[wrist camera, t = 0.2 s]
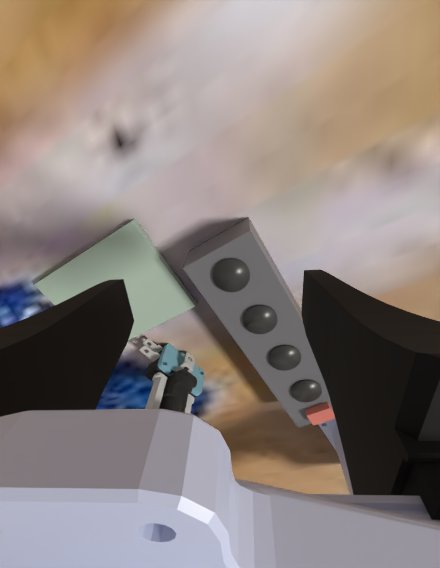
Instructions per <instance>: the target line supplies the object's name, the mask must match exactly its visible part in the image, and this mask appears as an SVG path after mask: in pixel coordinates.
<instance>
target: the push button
mask: <svg viewBox="0 0 440 568" xmlns="http://www.w3.org/2000/svg"><path fill="white" fill-rule="evenodd" d="M148 342H149V343H151V344H152V345H150V346H149V345H148V344H147V343H148ZM143 344H144V346H143V347H142V348H141V349H140V351H141V352H142V353H143V354H144V355H146V356H147V357H148V359H149V360H150V361H151V363H150V364H149V366H148V368H147V371H146V376H147V378H149V379H150V380H151V381H153V382H154V384H153V387H152V390H151V393H150V396H149V399H148V402H147V405H146V408H145V409H166V410H172V411H177V412H183V413H189V414H190V411H191V405H192V404H193V403H194V398H195V397H196V396H198V395H199V394H201V393H202V388H203V380H204V371H203V370H202V369H201V368H199V367H198V366H196V365H195V364H194V363H195V358H194V357H193V356H192V355H191V354H189V353H186V355H185V356H184V355H183V354H182V353H180V352H179V351H178V350H177V349H175V348H174V347H173V346H172V345H170V344H167V345H166V346H164V347H163V348H162V347H161V346H160V345H156V344H155V343H154V342H152V341H151V340H150V339H149V338H147V339H146V340H145V341H144V342H143ZM145 349H147V350H148V351H149V352H148V353H146V352H145V351H144V350H145ZM188 357H190V358H191V360H192V361H190V360H189V359H188Z"/></svg>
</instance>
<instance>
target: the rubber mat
mask: <svg viewBox="0 0 440 568" xmlns="http://www.w3.org/2000/svg"><path fill="white" fill-rule="evenodd" d="M115 279H124V283H125V287H126V291H127V294H128V298H129V302H130V306H131V310H132V314H133V318H134V324H133V327H132V330H131V334H130V336H129V339H128V340H130V339H132V338H134V337H136V336H138V335H140V334H142V333H144V332H146V331H148V330H150V329H152V328H154V327H156V326H158V325H160V324H162V323H164V322H166V321H168V320H170V319H172V318H174V317H176V316H178V315H180V314H182V313H184V312H186V311H188V310H190V309H192V308H194V307H196V301H195V300H194V299H193V297H192V296H191V295H190V293H189V292H188V291H187V289H186V288H185V286H184V285H183V284H182V282H181V281H180V280H179V278H178V277H177V276H176V274H175V273H174V272H173V270H172V269H171V268H170V266H169V265H168V264H167V262H166V261H165V259H164V258H163V257H162V255H161V254H160V253H159V251H158V250H157V249H156V247H155V246H154V245H153V243H152V242H151V241H150V239H149V238H148V237H147V235H146V234H145V233H144V231H143V230H142V228H141V227H140V226H139V224H138V223H137V222H136V220H135V219H133V220H132V221H130V222H129V223H127V224H126V225H124V226H123V227H121V228H120V229H118V230H117V231H115V232H114V233H112V234H110V235H109V236H107V237H106V238H104V239H103V240H101V241H100V242H98V243H97V244H95V245H94V246H92V247H91V248H89V249H87V250H86V251H84V252H83V253H81V254H80V255H78V256H77V257H75V258H74V259H72V260H71V261H69V262H67V263H66V264H64V265H63V266H61V267H60V268H58V269H57V270H55V271H54V272H52V273H51V274H49V275H48V276H46V277H44V278H43V279H41V280H40V281H38V282H37V283H36V284H35V286H36V287H37V288H38V289H39V290H40V291H41V292H42V293H43V294H44V295H45V296H46V297H47V298H48V299H49V300H50V301H51V302H52V303H53V304H54V305H57V304H59V303H61V302H63V301H65V300H67V299H69V298H71V297H73V296H75V295H77V294H79V293H81V292H83V291H85V290H87V289H89V288H91V287H93V286H95V285H97V284H99V283H102V282H104V281H107V280H115Z"/></svg>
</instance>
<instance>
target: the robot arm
mask: <svg viewBox="0 0 440 568" xmlns="http://www.w3.org/2000/svg"><path fill="white" fill-rule="evenodd" d="M301 315H302V320H303V324H304V328H305V333H306V336H307V339H308V342H309V344H310V347H311V349H312V352H313V354H314V357H315V359H316V362H317V364H318V367H319V369H320V372H321V374H322V377H323V379H324V382H325V385H326V388H327V391H328V394H329V397H330V401H331V404H332V408H333V412H334V415H335V419H332V420H329V421H326V422H323V423H320V424H318V425H319V426H320V428H321V429H322V431H323V432H324V434H325V435H326V437H327V438H328V440H329V441H330V443H331V444H332V446H333V447H334V449H335V450H336V452H337V454H338V457H339V460H340V463H341V467H342V470H343V473H344V476H345V479H346V483H347V486H348V489H349V492H350V495H328V494H305V493H301V492H296V491H291V490H287V489H282V488H277V487H273V486H268V485H264V484H259V483H254V482H250V481H245V480H240V479H236V478H234V476H233V473H232V465H231V455H230V450H229V448H228V446H227V444H226V442H225V440H224V439H223V437H222V435H221V433H220V431H219V430H217V429H216V428H214V427H213V426H211V425H210V424H208V423H206V422H205V421H203V420H201V419H200V418H198V417H196V416H195V415H193V414H189V413H183V412H177V411H172V410H166V409H113V410H96V407H97V405H98V402H99V399H100V397H101V394H102V392H103V390H104V388H105V386H106V384H107V382H108V380H109V378H110V376H111V374H112V372H113V370H114V368H115V366H116V364H117V362H118V360H119V358H120V356H121V354H122V352H123V350H124V348H125V346H126V344H127V342H128V339H129V336H130V334H131V330H132V327H133V324H134V318H133V314H132V310H131V306H130V302H129V298H128V294H127V291H126V287H125V283H124V279H115V280H107V281H104V282H102V283H99V284H97V285H95V286H93V287H91V288H89V289H87V290H85V291H83V292H81V293H79V294H77V295H75V296H73V297H71V298H69V299H67V300H65V301H63V302H61V303H59V304H57V305H55V306H53V307H51V308H49V309H47V310H45V311H42V312H40V313H38V314H36V315H33V316H31V317H29V318H26V319H24V320H21V321H18V322H16V323H13V324H11V325H8V326H5V327H2V328H0V568H440V322H439V321H436V320H432V319H429V318H426V317H422V316H419V315H416V314H413V313H410V312H407V311H404V310H402V309H399V308H396V307H394V306H391V305H389V304H386V303H384V302H382V301H379V300H377V299H375V298H373V297H371V296H369V295H367V294H365V293H363V292H361V291H359V290H357V289H355V288H353V287H352V286H350V285H348V284H346V283H344V282H343V281H341V280H339V279H337V278H336V277H334V276H332V275H330V274H329V273H327V272H325V271H323V270H304V282H303V298H302V314H301Z"/></svg>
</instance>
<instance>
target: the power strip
mask: <svg viewBox="0 0 440 568" xmlns="http://www.w3.org/2000/svg"><path fill="white" fill-rule="evenodd" d="M183 269H184V271H185V272H186V274H187V275H188V276H189V278H190V279H191V280H192V282H193V283H194V285H195V286H196V287H197V289H198V290H199V292H200V293H201V294H202V296H203V297H204V298H205V300H206V301H207V303H208V304H209V305H210V307H211V308H212V310H213V311H214V312H215V314H216V315H217V316H218V318H219V319H220V321H221V322H222V323H223V325H224V326H225V328H226V329H227V330H228V332H229V333H230V334H231V336H232V337H233V339H234V340H235V341H236V343H237V344H238V346H239V347H240V348H241V350H242V351H243V352H244V354H245V355H246V357H247V358H248V359H249V361H250V362H251V364H252V365H253V366H254V368H255V369H256V370H257V372H258V373H259V375H260V376H261V377H262V379H263V380H264V382H265V383H266V384H267V386H268V387H269V388H270V390H271V391H272V393H273V394H274V395H275V397H276V398H277V400H278V401H279V402H280V404H281V405H282V407H283V408H284V409H285V411H286V412H287V413H288V415H289V416H290V418H291V419H292V420H293V422H294V423H295V425H296V426H297V427H298V428H299V427H303V426H306V425H309V424H313V426H314V425H317V424H320V423H323V422H326V421H329V420H332V419H335V415H334V412H333V408H332V404H331V401H330V397H329V394H328V391H327V388H326V385H325V382H324V379H323V377H322V374H321V372H320V369H319V367H318V364H317V362H316V359H315V357H314V354H313V352H312V349H311V347H310V344H309V342H308V339H307V336H306V333H305V328H304V324H303V320H302V315H301V314H302V311H301V309H300V308H299V306H298V304H297V302H296V300H295V299H294V297H293V295H292V293H291V292H290V290H289V288H288V286H287V285H286V283H285V281H284V279H283V277H282V276H281V274H280V272H279V270H278V269H277V267H276V265H275V263H274V262H273V260H272V258H271V256H270V254H269V253H268V251H267V249H266V247H265V246H264V244H263V242H262V240H261V239H260V237H259V235H258V233H257V231H256V230H255V228H254V226H253V224H252V223H251V221H250V219H249V217H248V218H246V219H245V220H243V221H241V222H239V223H238V224H236V225H234V226H232V227H231V228H229V229H227V230H225V231H224V232H222V233H220V234H218V235H217V236H215V237H213V238H211V239H210V240H208V241H206V242H204V243H203V244H201V245H199V246H197V247H196V248H194V249H192V250H190V251H189V253H188V256H187V258H186V261H185V263H184V266H183Z"/></svg>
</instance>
